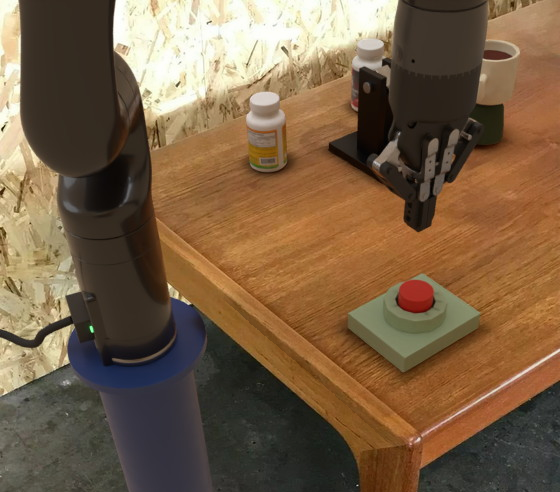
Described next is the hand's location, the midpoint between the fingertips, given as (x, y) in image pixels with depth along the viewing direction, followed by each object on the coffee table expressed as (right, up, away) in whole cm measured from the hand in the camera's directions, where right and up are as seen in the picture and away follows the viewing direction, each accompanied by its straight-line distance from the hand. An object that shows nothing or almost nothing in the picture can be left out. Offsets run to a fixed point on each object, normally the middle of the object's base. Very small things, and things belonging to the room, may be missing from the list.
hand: (418, 225), depth 78 cm
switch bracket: (+1, +16, +34) cm, 38 cm away
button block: (+1, -10, +9) cm, 13 cm away
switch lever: (+2, +20, +27) cm, 33 cm away
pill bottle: (0, +27, +45) cm, 52 cm away
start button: (+1, -7, +6) cm, 9 cm away
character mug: (+15, +19, +36) cm, 44 cm away
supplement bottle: (-15, +15, +34) cm, 40 cm away
